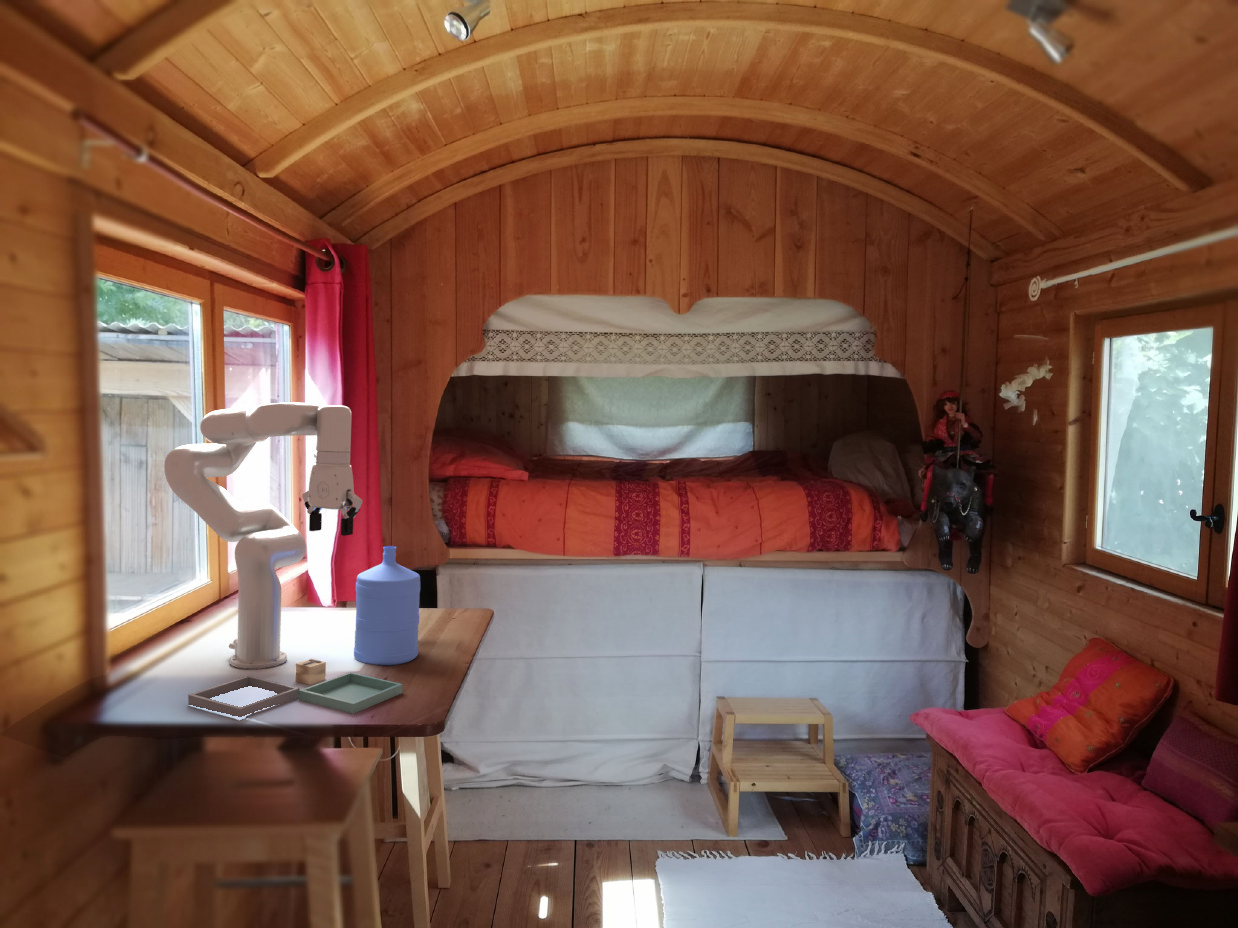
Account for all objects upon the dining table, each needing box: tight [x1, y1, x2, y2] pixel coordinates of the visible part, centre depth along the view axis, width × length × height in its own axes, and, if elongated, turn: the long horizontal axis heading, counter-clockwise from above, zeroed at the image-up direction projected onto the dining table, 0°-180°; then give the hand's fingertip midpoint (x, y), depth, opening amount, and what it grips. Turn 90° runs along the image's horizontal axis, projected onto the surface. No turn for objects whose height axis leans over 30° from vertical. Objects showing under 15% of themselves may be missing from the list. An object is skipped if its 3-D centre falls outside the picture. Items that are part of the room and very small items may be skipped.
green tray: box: [298, 671, 403, 715], centre depth 180 cm, size 15×15×2 cm
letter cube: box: [295, 658, 327, 686], centre depth 189 cm, size 4×4×5 cm
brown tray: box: [187, 675, 300, 717], centre depth 174 cm, size 15×15×2 cm
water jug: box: [353, 545, 421, 666], centre depth 209 cm, size 16×16×28 cm
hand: (330, 532), depth 193 cm, fingers open, 9 cm apart
